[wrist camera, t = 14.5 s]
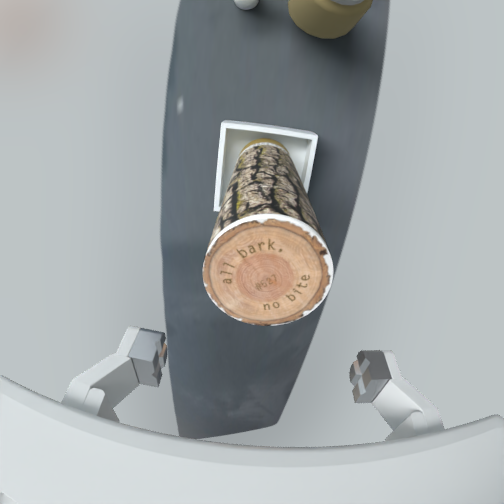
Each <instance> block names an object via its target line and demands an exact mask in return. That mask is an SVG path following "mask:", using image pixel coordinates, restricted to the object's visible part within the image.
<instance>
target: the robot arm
mask: <svg viewBox="0 0 504 504" xmlns="http://www.w3.org/2000/svg"><path fill="white" fill-rule="evenodd" d="M165 339H166V337H165V333H163V332H159V331H154V330H149V329H144V328H139V327H135V326H129V327H128V329H127V330H126V333H125V335H124V337H123V339H122V341H121V343H120V346H119V348H118V350H117V352H116V354H111V355H110V356H108V357H107V358H105V359H103V360H102V361H100V362H99V363H97V364H96V365H94V366H93V367H91V368H90V369H88V370H86V371H85V372H83V373H82V374H80V375H79V376H77V377H75V378H74V379H73V380H72V381H71V383H70V386H69V387H68V390H67V392H66V394H65V396H64V398H63V400H62V402H61V403H60V402H58V401H55V400H53V399H50V398H48V397H46V396H43V395H41V394H39V393H37V392H34V391H32V390H30V389H28V388H26V387H24V386H22V385H20V384H18V383H16V382H14V381H12V380H10V379H8V378H6V377H4V376H2V375H0V504H504V418H502V417H501V416H500V415H491V416H489V417H486V418H483V419H479V420H477V421H473V422H470V423H467V424H463V425H460V426H456V427H453V428H449V429H444V426H443V423H442V420H441V417H440V414H439V411H438V408H437V407H436V406H435V405H434V404H433V403H432V402H430V401H429V400H428V399H427V398H426V397H425V396H424V395H423V394H422V393H421V392H420V391H418V390H417V389H416V388H415V387H414V386H413V385H412V384H411V383H410V382H408V381H407V380H406V379H403V378H402V375H401V373H400V370H399V367H398V364H397V361H396V359H395V356H394V353H393V352H392V351H380V350H374V351H360V352H359V353H358V355H357V359H358V360H356V361H355V362H353V364H352V366H351V368H350V382H351V383H352V384H353V385H354V386H355V387H354V389H353V396H354V401H355V403H372V405H373V406H374V407H375V408H376V409H377V410H378V412H379V413H380V414H381V416H382V417H383V418H384V420H385V421H386V422H387V423H388V424H389V426H390V427H391V428H392V429H393V432H392V433H391V434H390V435H389V436H388V437H387V438H386V439H385V441H383V442H375V443H366V444H357V445H345V446H329V447H265V446H249V445H238V444H227V443H218V442H211V441H203V440H197V439H190V438H185V437H179V436H174V435H168V434H163V433H159V432H154V431H149V430H146V429H141V428H137V427H133V426H130V425H126V424H122V423H119V419H118V417H117V415H116V413H115V412H114V410H113V408H114V407H115V406H116V405H117V404H118V403H119V402H121V401H122V400H123V399H124V398H125V397H126V396H127V395H129V394H130V393H131V392H132V391H133V390H134V389H135V388H136V387H138V386H139V384H143V385H149V386H154V387H159V384H160V380H161V377H162V372H161V369H162V368H163V367H164V366H165V363H166V359H167V345H166V344H165V343H164V342H165Z"/></svg>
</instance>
